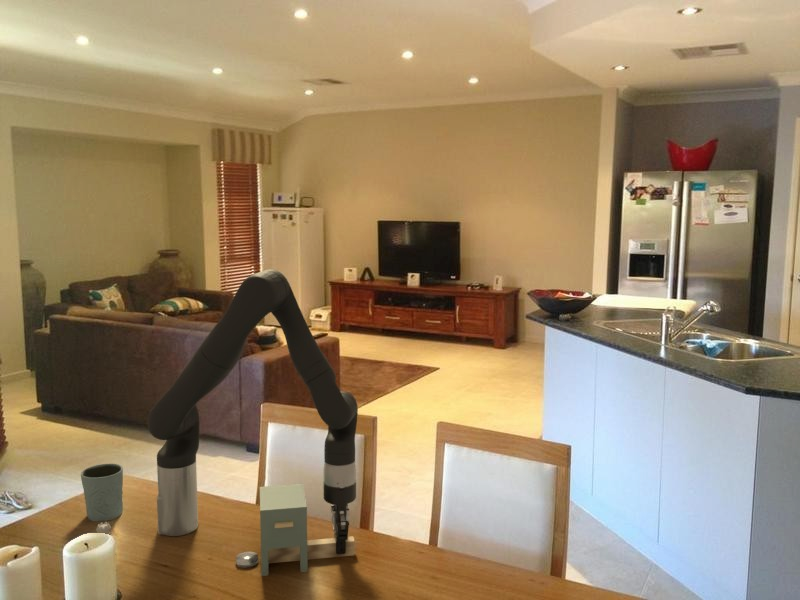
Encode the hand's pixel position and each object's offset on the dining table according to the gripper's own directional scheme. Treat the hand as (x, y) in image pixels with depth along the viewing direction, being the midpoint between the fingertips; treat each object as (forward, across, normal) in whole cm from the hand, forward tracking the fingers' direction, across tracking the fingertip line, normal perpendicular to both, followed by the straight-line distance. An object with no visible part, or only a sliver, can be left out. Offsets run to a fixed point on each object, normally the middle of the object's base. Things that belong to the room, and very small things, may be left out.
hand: (340, 550), depth 159 cm
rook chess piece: (+1, -8, -53) cm, 54 cm away
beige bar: (+1, 0, -7) cm, 7 cm away
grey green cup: (+1, -32, -58) cm, 67 cm away
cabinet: (+1, 0, -13) cm, 13 cm away
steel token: (+1, 0, -21) cm, 21 cm away
